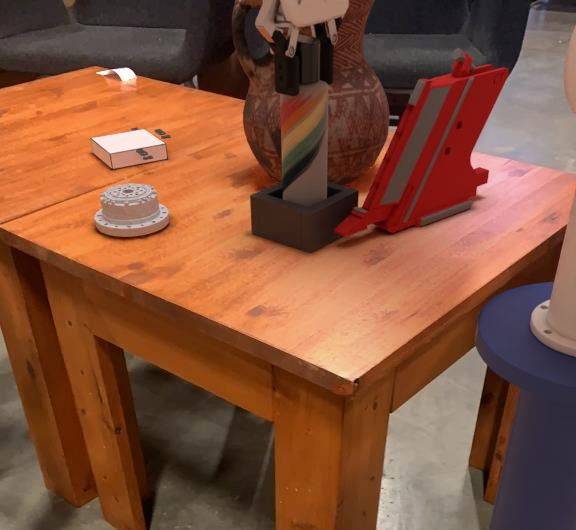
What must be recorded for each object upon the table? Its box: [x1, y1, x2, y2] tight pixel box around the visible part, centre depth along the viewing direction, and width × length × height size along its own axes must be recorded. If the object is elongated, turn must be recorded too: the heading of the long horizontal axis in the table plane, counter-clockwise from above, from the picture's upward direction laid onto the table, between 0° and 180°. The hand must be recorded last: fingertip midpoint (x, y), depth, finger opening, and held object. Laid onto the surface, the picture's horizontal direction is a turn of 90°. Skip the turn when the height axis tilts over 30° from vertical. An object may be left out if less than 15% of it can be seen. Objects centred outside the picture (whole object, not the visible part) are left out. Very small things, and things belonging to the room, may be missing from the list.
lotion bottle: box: [280, 35, 328, 207], centre depth 93 cm, size 6×6×20 cm
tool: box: [334, 47, 510, 238], centre depth 100 cm, size 24×5×25 cm, turn 133°
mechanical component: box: [93, 182, 170, 238], centre depth 103 cm, size 10×4×10 cm
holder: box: [249, 182, 360, 253], centre depth 100 cm, size 10×10×5 cm
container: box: [90, 127, 172, 171], centre depth 125 cm, size 20×12×3 cm, turn 29°
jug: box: [231, 0, 390, 186], centre depth 109 cm, size 22×21×25 cm
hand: (304, 86), depth 90 cm, fingers closed on lotion bottle, 5 cm apart
